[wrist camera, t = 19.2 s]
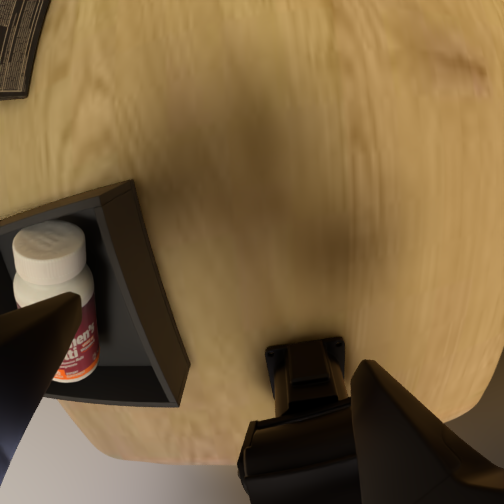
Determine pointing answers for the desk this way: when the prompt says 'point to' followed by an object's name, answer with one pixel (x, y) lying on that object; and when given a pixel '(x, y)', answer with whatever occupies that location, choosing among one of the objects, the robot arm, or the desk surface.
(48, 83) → the desk surface
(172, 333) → the bin
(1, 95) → the small box
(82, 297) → the pill bottle
